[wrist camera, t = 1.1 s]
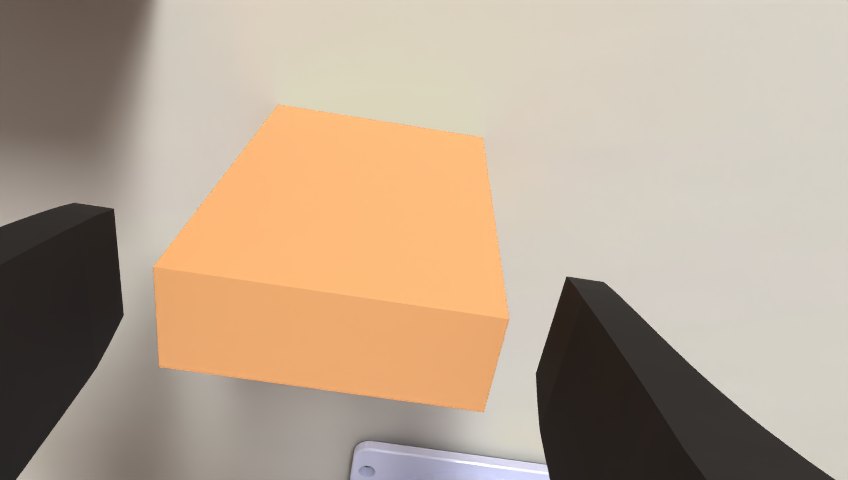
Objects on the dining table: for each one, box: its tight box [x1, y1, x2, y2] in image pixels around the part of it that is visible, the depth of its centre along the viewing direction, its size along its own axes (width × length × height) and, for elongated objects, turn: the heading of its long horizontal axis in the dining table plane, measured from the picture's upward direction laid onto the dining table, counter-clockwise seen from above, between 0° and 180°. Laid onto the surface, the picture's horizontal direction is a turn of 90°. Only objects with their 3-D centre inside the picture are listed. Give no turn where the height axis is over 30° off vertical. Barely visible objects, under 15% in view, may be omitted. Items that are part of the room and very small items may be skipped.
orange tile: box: [153, 105, 509, 412], centre depth 13 cm, size 2×5×8 cm, turn 81°
